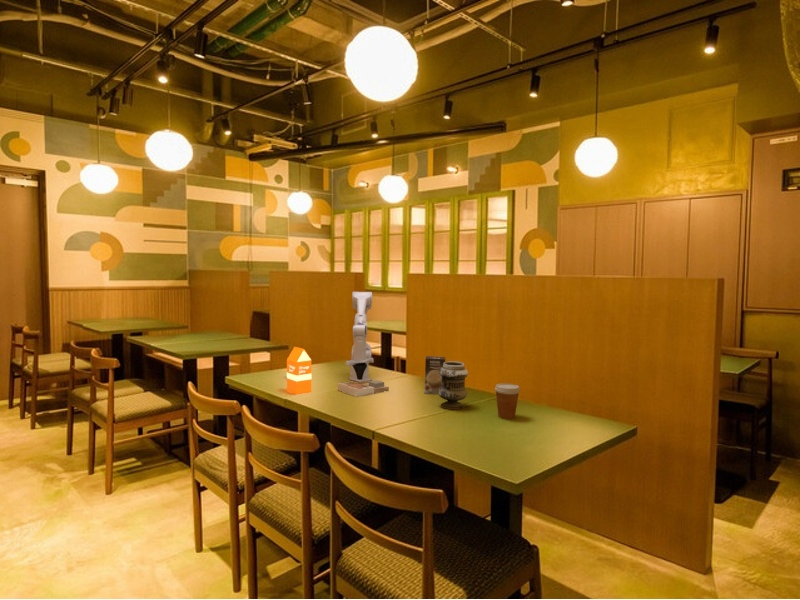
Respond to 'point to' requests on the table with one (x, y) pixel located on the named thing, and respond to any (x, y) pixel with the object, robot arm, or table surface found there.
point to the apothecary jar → (453, 384)
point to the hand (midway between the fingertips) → (359, 379)
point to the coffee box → (433, 374)
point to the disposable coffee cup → (507, 400)
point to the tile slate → (376, 384)
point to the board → (377, 390)
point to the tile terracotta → (355, 385)
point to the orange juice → (299, 372)
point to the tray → (354, 389)
